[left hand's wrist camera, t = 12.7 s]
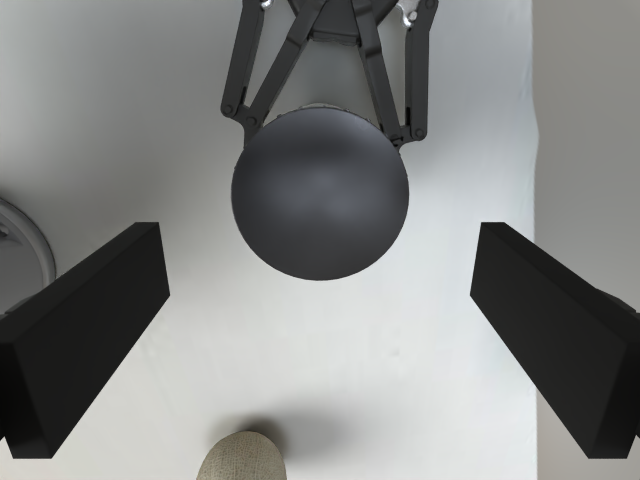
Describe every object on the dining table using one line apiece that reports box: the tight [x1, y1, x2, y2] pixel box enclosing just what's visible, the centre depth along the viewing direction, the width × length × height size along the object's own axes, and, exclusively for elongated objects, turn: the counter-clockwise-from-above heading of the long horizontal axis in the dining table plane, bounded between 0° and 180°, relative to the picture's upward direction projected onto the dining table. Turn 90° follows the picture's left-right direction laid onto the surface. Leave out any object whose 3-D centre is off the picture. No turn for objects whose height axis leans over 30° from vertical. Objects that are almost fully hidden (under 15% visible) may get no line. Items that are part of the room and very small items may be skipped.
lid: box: [231, 105, 409, 281], centre depth 21 cm, size 9×9×2 cm
